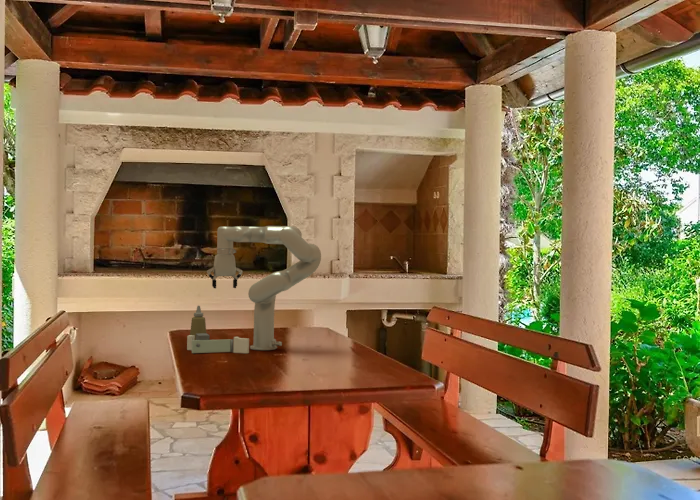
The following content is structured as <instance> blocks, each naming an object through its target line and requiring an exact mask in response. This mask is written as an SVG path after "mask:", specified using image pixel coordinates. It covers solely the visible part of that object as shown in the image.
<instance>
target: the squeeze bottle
mask: <svg viewBox="0 0 700 500" xmlns="http://www.w3.org/2000/svg"><path fill="white" fill-rule="evenodd" d="M201 309H202V308H201V305H197V306H196V310H195V312H193V317H191V323H190V324H191V325H190V332H189V335H194V336H195V338H194V340H196V334H200V333H207V324H206V317H204V312H202V310H201Z"/></svg>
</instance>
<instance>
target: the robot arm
mask: <svg viewBox="0 0 700 500" xmlns="http://www.w3.org/2000/svg"><path fill="white" fill-rule="evenodd" d="M216 233H217V237H216V239H217V241H216V242H217V243H216V245H217V246H216V247H217V248H216V249H217V250H216V254H215V256H214V260H213V267H211V268H209V269H208V270H206V273H207V275H208V277H209V278H210V279H211V281H212V282H211V284H212V285H211V286H212V288H213V289H217V280H216V279H217V278H218V277H232V278H233V280H232V288H234V289H237V287H238V280H239V279H240V277H241V276H242V274H243V272H244V271H243V270H242V269H241V268H239V267H236V266H237V265H236V258H235V255H234V254H235V253H236V254H237V249H234V242H235V243H264V244H267V245H268V244H269V245H283V246H285V248H286V249H287V250H288V251H289V252H290V253H291V254H293V255H294V257H295V258H297V260H299V261H297V262H295V263H293V264H292V265H291V266H289V267H287V268H286V269H283V270H279V271H274V272H272V273H270V274H269V275H267V276H265V277H263V278H262V279H260V280H259V281H256V282H255V283H253V284H252V285H251V286H250V287H249V289H248V298H249V300H250V301H251V302H253V303H254V307H253V308H254V309H253V344H252V345H249V350H254V351H274V350H276V349H278V347H282V345H283V342H282V341H277V339H276V338H275V334H274V333H275V307H276V306H275V305H276V304H275V303H276V298H277V295H278V294H280V293H282V292H285V291H288V290H289V289H291V288H292V287H294V286H296V285H297V284H299V283H301V282H302V281H304V280H305V279H307V278H308V277H310V276H311V275H312V274H314V273H316V271H317V269H318V268H319V267H320V264H321V261H322V252H321V249H320V247H318V245H316V244H314V243H308V242H307V241H306V239H304V238H303V237H302V235H303V234H302V231H301V229H300V228H299V227H297V226H292V225H291V226H290V225H288V226H287V225H282V226H281V225H266V226H246V225H245V226H244V225H243V226H242V225H239V226H238V225H237V226H219V227H218V228H217V232H216ZM211 272H213V275H212V273H211ZM237 272H238V274H237ZM236 274H237V275H236Z"/></svg>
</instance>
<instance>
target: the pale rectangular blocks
mask: <svg viewBox="0 0 700 500" xmlns="http://www.w3.org/2000/svg"><path fill="white" fill-rule="evenodd" d="M186 338H187V340H186V344H187V345H186V350H187V351H192V341H194V338H195V336H194V335H190V334H189V335H187V336H186ZM232 353H233V354H249V353H250V338H246V337H245V338H244V337H240V336H233V352H232Z"/></svg>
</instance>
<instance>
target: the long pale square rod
mask: <svg viewBox="0 0 700 500" xmlns="http://www.w3.org/2000/svg"><path fill="white" fill-rule="evenodd" d="M233 348H234V338H232V339H229V338H228V339H227V338H226V339H210V340H194V341H192V350H191V354H209V353H210V354H211V353H233Z"/></svg>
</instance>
